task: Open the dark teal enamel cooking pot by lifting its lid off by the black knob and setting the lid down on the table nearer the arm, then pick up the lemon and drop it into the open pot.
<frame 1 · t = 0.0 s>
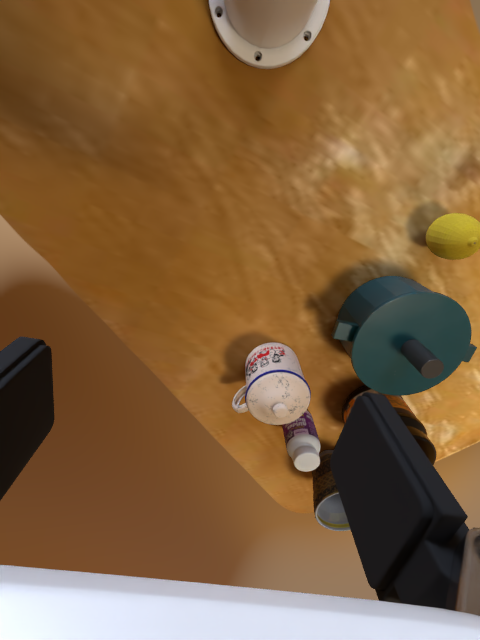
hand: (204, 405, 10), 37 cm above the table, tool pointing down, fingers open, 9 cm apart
teacup with lid: (263, 368, 53), on the table
supplement container: (369, 405, 57), on the table
cooker: (382, 320, 50), on the table
lemon: (434, 231, 44), on the table
pill bottle: (296, 417, 57), on the table
cooker lid: (408, 345, 42), point 8 cm above the table, touching cooker
ceramic cup: (335, 457, 62), on the table
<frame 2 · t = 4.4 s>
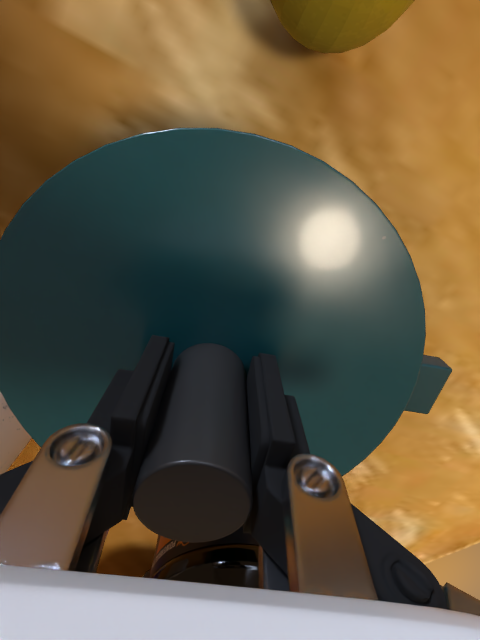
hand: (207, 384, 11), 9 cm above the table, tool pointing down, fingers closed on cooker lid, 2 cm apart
supplement container: (233, 482, 26), on the table
cooker: (219, 292, 19), on the table
lemon: (319, 1, 14), on the table
cooker lid: (210, 365, 12), point 8 cm above the table, touching cooker, gripper
when the fingers open (2 cm above the table, at t = 12.4 s): cooker lid stays where it is, point 1 cm above the table.
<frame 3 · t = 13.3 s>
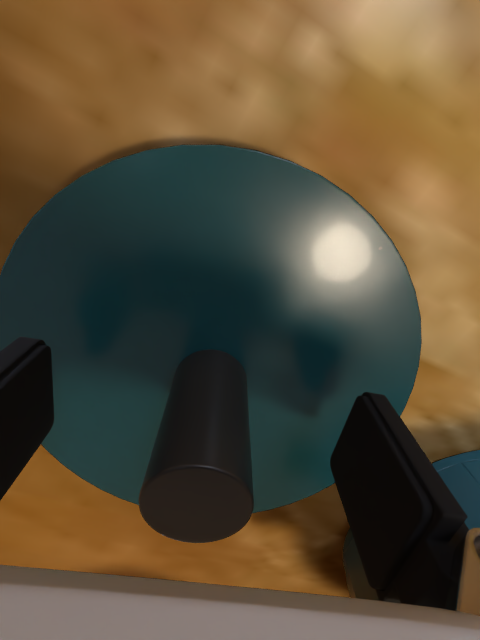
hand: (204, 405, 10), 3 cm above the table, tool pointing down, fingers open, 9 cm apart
cooker: (470, 541, 18), on the table
cooker lid: (212, 370, 12), point 1 cm above the table
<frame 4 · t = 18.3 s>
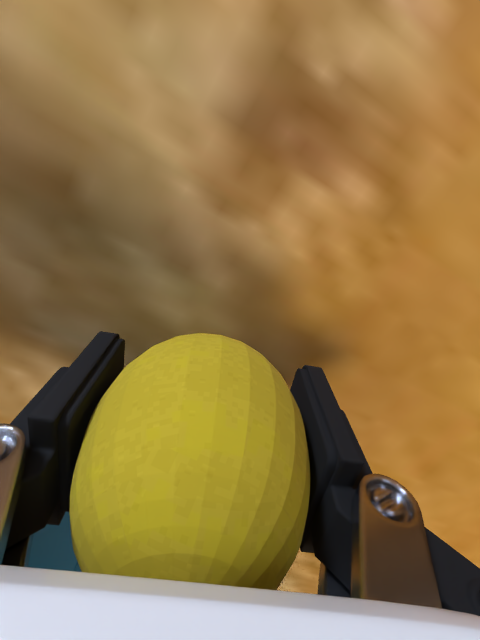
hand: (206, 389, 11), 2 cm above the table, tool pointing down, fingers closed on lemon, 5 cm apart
cooker: (131, 575, 17), on the table
lemon: (209, 362, 12), on the table, touching gripper
when the fingers open (4 cm above the table, at t = 25.7 s): lemon drops 2 cm, resting on cooker.
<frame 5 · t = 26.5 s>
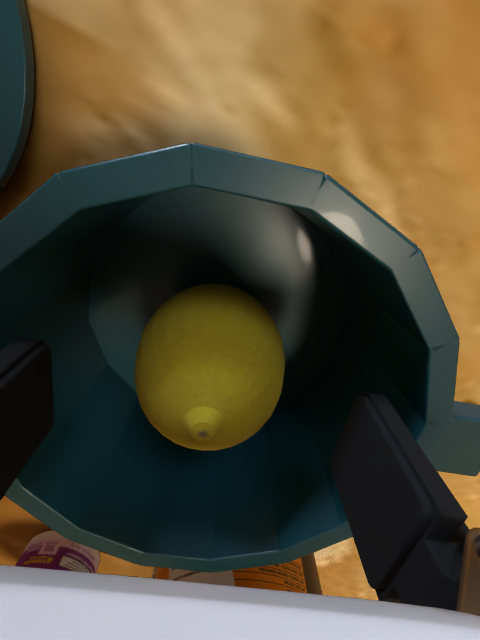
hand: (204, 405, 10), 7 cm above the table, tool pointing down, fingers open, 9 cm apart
supplement container: (235, 522, 24), on the table
cooker: (218, 316, 17), on the table
lemon: (217, 315, 16), resting on cooker
pill bottle: (67, 546, 24), on the table
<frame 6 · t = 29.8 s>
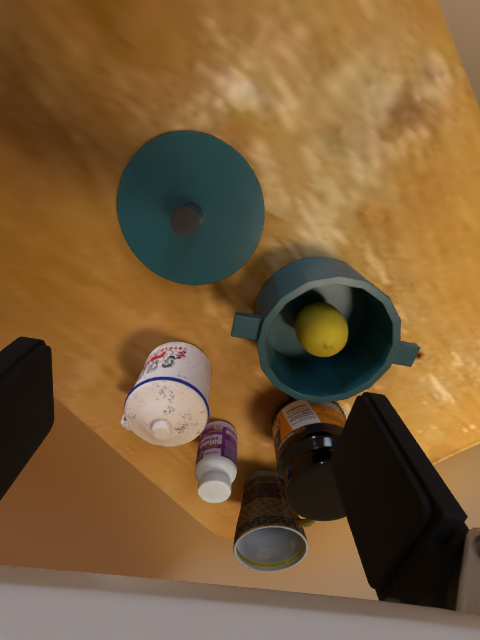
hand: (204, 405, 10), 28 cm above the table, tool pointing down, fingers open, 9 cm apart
teacup with lid: (170, 373, 43), on the table
supplement container: (306, 417, 47), on the table
cooker: (311, 313, 40), on the table
lemon: (312, 313, 39), resting on cooker
pill bottle: (218, 432, 48), on the table
cooker lid: (192, 214, 34), point 1 cm above the table
ceramic cup: (271, 478, 52), on the table
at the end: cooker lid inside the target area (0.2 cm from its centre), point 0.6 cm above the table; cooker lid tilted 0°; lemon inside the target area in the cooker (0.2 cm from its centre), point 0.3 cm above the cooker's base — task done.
